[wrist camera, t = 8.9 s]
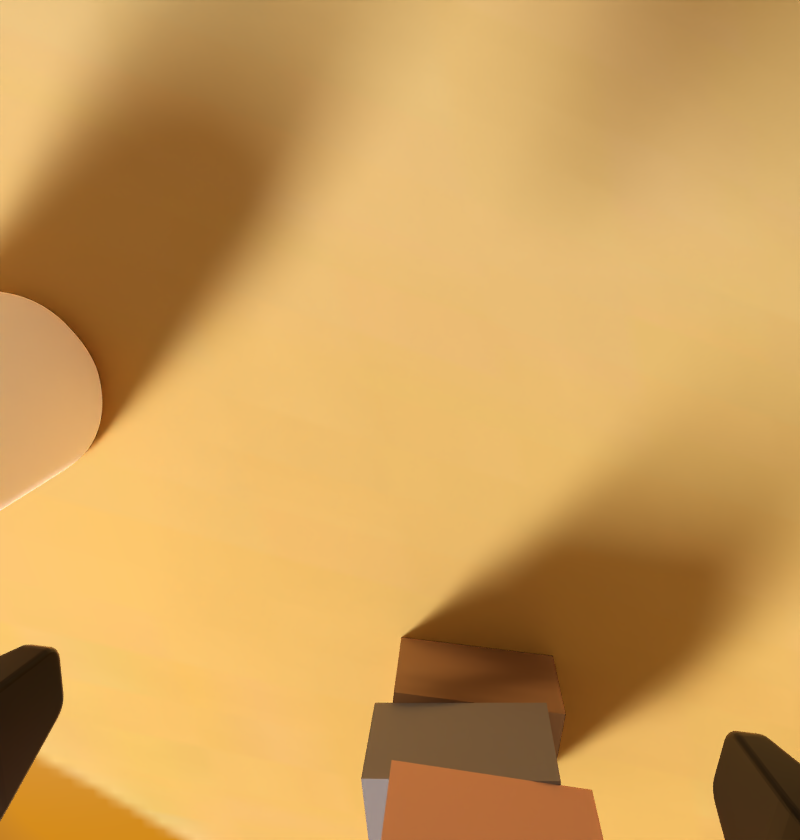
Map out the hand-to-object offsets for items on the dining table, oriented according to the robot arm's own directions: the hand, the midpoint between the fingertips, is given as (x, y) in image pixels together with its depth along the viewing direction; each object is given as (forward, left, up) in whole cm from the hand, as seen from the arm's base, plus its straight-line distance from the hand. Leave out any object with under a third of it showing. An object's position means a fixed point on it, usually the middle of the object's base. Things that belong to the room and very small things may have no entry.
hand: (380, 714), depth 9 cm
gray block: (-2, +11, -10) cm, 15 cm away
